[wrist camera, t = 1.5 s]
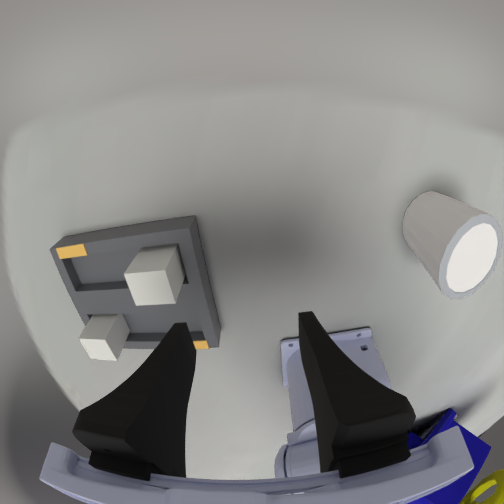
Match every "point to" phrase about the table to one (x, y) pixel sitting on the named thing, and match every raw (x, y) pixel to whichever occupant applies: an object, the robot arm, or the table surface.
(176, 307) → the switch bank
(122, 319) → the white block
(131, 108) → the table surface
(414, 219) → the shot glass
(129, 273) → the white rectangular block
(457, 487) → the blue valve with handwheel
